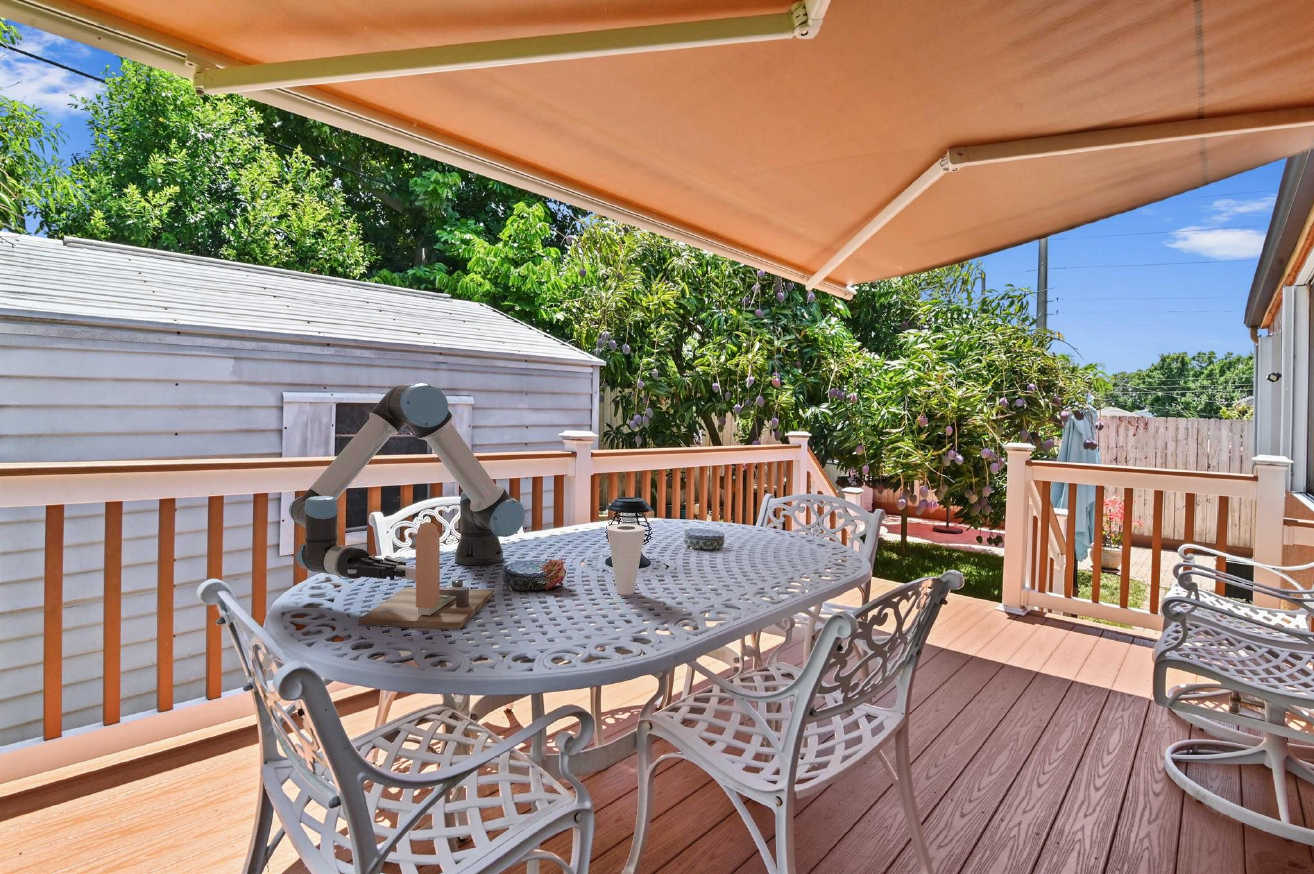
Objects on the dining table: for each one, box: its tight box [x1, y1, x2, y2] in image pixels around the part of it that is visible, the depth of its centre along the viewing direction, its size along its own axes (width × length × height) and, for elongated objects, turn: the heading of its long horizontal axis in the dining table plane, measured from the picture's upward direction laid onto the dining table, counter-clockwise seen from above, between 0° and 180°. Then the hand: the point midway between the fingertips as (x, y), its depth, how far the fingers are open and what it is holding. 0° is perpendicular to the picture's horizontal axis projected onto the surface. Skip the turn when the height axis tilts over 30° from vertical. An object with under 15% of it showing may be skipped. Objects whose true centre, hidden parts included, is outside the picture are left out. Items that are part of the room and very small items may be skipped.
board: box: [358, 586, 494, 630], centre depth 172 cm, size 26×24×2 cm
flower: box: [539, 557, 568, 591], centre depth 192 cm, size 10×9×8 cm
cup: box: [606, 523, 647, 596], centre depth 188 cm, size 11×11×18 cm
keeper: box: [440, 579, 470, 608], centre depth 175 cm, size 12×9×4 cm
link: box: [415, 521, 467, 615], centre depth 171 cm, size 20×5×22 cm, turn 172°
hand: (418, 574), depth 163 cm, fingers closed
